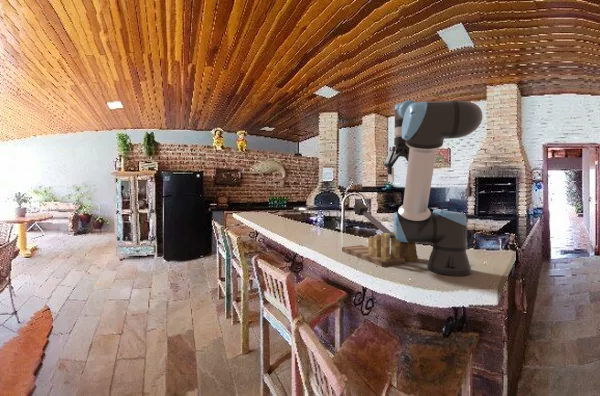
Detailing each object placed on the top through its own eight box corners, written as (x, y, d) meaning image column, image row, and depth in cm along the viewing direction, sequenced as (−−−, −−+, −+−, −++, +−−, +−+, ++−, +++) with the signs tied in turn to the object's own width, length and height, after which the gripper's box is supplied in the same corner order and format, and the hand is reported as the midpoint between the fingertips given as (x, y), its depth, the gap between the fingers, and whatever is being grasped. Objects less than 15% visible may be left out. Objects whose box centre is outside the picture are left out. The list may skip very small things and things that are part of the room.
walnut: (384, 243, 132) (384, 234, 132) (377, 244, 130) (377, 235, 130) (378, 242, 136) (378, 233, 135) (371, 242, 134) (371, 234, 134)
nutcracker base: (404, 263, 127) (405, 232, 126) (381, 266, 122) (382, 234, 121) (361, 248, 154) (362, 223, 153) (341, 251, 149) (342, 225, 148)
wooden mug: (427, 258, 135) (427, 218, 135) (411, 263, 127) (411, 220, 126) (409, 254, 142) (409, 216, 141) (392, 259, 134) (393, 218, 133)
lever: (394, 240, 126) (397, 232, 125) (386, 241, 125) (389, 233, 123) (360, 210, 148) (362, 202, 146) (353, 210, 146) (355, 203, 144)
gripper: (415, 139, 152) (414, 181, 153) (376, 136, 141) (376, 181, 142) (427, 137, 145) (426, 181, 146) (387, 133, 134) (387, 181, 135)
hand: (401, 181), depth 144 cm, fingers open, 13 cm apart
